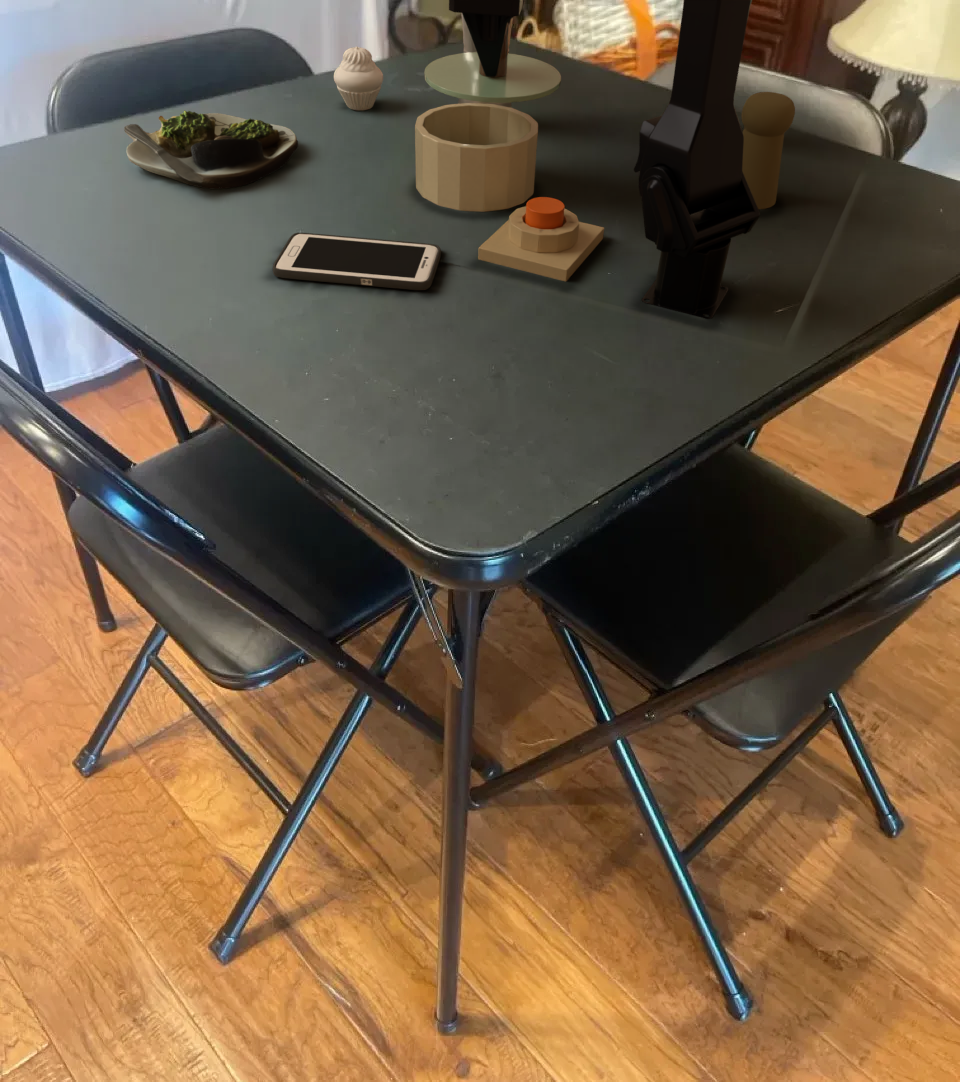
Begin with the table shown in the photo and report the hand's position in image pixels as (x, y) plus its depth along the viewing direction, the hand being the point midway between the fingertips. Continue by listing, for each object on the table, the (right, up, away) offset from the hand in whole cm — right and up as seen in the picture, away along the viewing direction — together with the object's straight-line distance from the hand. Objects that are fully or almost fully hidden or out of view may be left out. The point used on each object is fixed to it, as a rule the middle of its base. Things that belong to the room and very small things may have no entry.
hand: (492, 71), depth 91 cm
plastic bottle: (-1, +4, +22) cm, 22 cm away
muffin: (-17, +9, +26) cm, 32 cm away
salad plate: (-31, -4, +12) cm, 34 cm away
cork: (+28, -10, +9) cm, 31 cm away
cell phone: (-13, -21, -5) cm, 25 cm away
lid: (0, 0, +1) cm, 1 cm away
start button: (+5, -16, -4) cm, 18 cm away
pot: (-2, -9, +8) cm, 12 cm away
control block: (+5, -19, -2) cm, 19 cm away
